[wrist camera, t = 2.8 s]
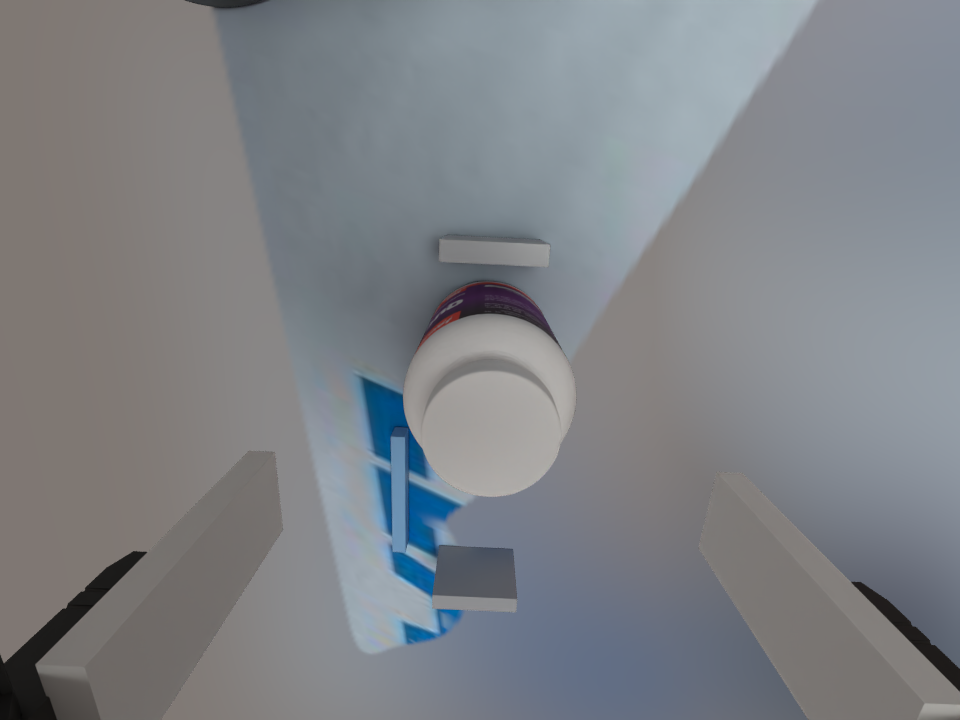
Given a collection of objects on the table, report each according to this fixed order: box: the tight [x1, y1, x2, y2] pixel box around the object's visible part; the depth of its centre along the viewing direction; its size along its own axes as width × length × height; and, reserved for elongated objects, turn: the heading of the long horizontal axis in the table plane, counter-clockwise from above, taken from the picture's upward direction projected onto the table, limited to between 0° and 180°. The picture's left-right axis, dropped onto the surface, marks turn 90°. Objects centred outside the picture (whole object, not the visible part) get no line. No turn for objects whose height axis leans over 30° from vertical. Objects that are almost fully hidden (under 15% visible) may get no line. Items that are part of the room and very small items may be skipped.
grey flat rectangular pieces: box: [391, 235, 550, 612], centre depth 31 cm, size 10×26×5 cm, turn 177°
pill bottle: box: [403, 281, 576, 497], centre depth 24 cm, size 8×8×14 cm
